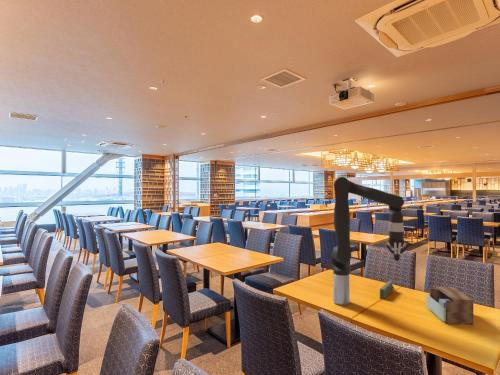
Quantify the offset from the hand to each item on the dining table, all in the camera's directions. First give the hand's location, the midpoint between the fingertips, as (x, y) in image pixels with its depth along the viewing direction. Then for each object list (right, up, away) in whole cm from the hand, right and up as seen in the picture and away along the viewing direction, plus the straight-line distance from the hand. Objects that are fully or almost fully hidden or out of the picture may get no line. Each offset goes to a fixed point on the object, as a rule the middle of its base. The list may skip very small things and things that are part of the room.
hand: (396, 260), depth 165 cm
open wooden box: (+23, -27, -11) cm, 37 cm away
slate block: (+21, -25, -11) cm, 34 cm away
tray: (+21, -26, -11) cm, 35 cm away
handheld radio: (+5, -28, +22) cm, 36 cm away
